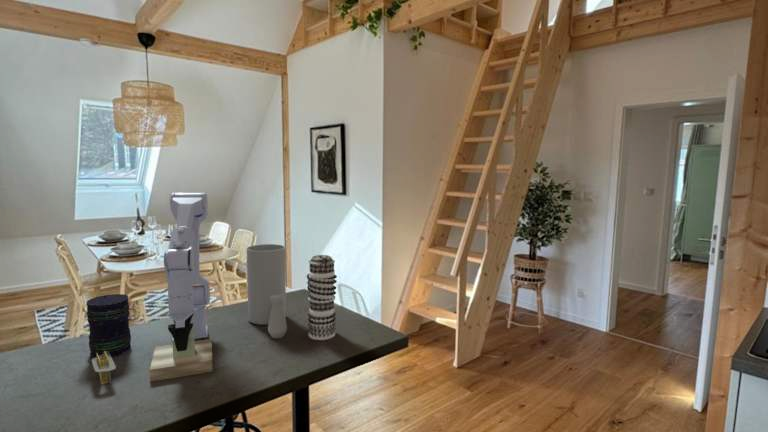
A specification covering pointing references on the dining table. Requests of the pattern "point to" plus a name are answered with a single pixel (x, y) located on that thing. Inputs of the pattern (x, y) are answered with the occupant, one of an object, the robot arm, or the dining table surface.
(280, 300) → the salt shaker
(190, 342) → the green cube
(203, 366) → the birch base
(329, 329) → the black white patterned cylinder
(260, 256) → the cylinder vase
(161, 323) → the dining table surface
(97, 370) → the platform
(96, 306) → the storage jar
